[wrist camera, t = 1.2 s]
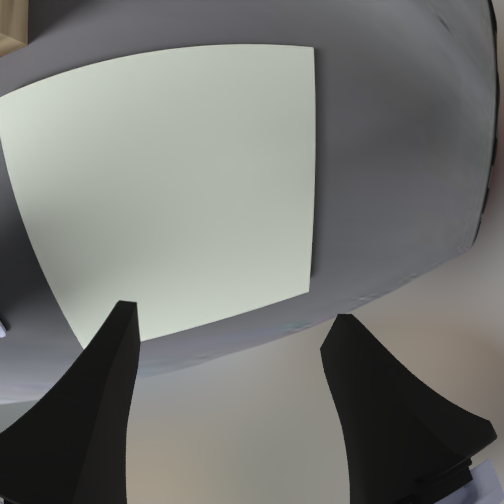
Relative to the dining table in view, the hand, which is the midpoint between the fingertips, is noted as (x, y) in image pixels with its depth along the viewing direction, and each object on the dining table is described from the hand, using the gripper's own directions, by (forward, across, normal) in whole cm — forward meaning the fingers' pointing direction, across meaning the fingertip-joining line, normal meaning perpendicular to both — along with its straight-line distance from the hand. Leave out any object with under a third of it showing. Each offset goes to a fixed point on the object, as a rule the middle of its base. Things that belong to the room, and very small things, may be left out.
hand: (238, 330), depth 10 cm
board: (+12, +3, +1) cm, 12 cm away
